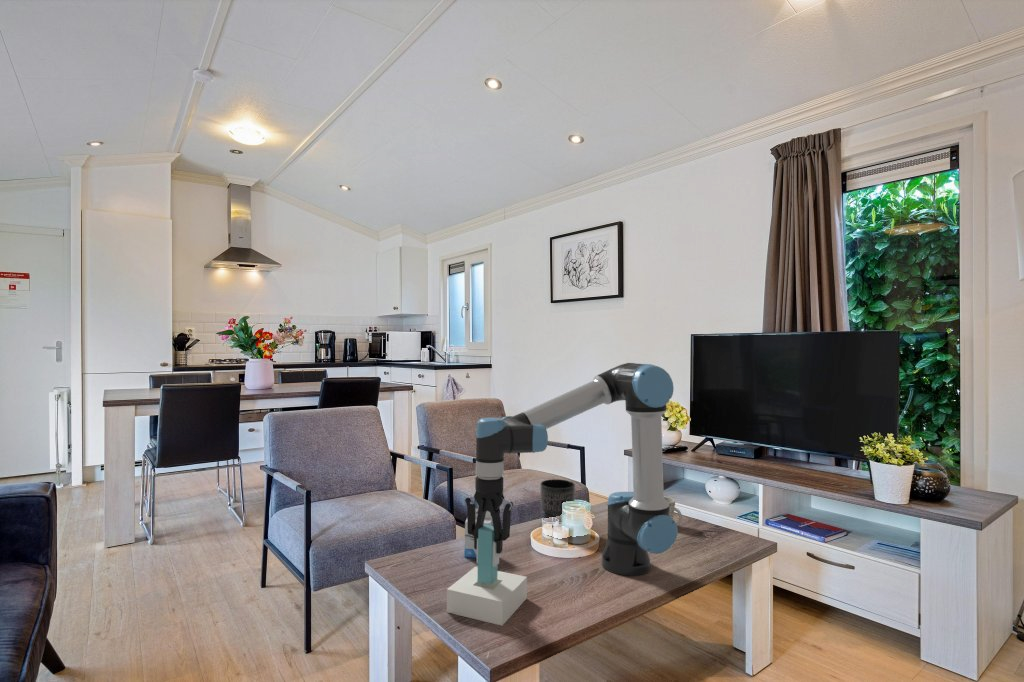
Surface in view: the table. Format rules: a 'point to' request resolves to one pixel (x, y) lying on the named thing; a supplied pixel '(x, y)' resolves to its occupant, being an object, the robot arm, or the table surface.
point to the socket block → (487, 597)
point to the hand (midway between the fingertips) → (487, 562)
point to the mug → (673, 509)
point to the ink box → (469, 539)
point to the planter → (555, 496)
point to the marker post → (486, 555)
